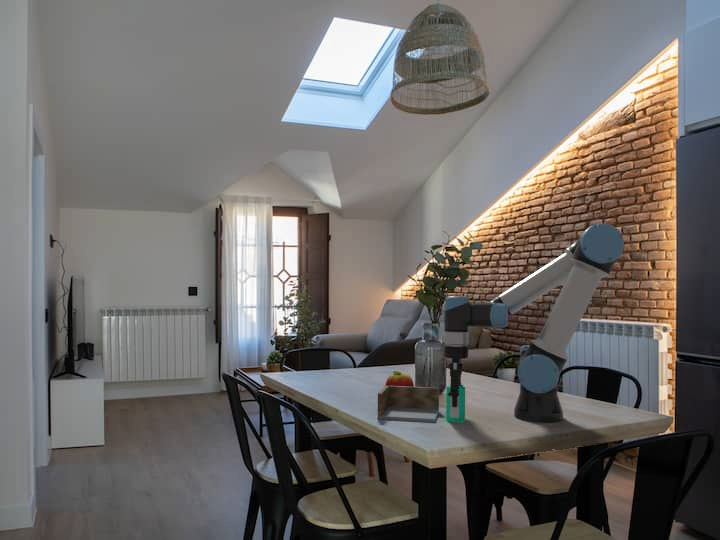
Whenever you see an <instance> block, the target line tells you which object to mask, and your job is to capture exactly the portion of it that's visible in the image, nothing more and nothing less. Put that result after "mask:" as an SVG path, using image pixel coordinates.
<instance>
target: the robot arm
mask: <svg viewBox="0 0 720 540" xmlns="http://www.w3.org/2000/svg"><path fill="white" fill-rule="evenodd" d="M624 249H625V241H624V237H623V235H622V232H621V231H620V230H619V229H618V228H617V227H615V226H614V225H612V224H609V223H603V222H602V223H601V222H599V223H594V224H592V225H590V226H588V227H587V228H586V229H585V230H584V231H583V232H582V235H581V236H580V237H579V238H578V239H577V240H576V241H574V242H573V243H572V244H571V245H569V246H567V247H566V249H565V252H564V253H562V254H561V255H559V256H558V257H557V258H555V259H553V260H552V261H550V262H549V263H547V264H545V265H544V266H542V267H540V268H539V269H538V270H536V271H535V272H533V273H532V274H529V276H527V277H525V278H524V279H522V280H520V281H519V282H518V283H516V284H514V285H513V286H511V287H510V288H508V289H507V290H505V291H504V292H502V293H501V294H499V295H497V296H496V297H494V298H493V299H491V300H489V301H488V302H471V301H470V300H469V297H468V296H463V295H460V296H459V295H455V296H453V295H452V296H451V295H448V296H446V298H445V299H444V300H445V301H444V309H443V311H444V312H443V313H444V314H443V315H444V323H443V324H444V325H443V326H444V329H443V331H444V334H443V333H442V337H443V338H444V340H443V341H444V346H443V347H444V348H443V357H445V358H446V359H451V362H449V364H448V365H449V368H448V369H449V377H450V385H449V386H450V393H448V396H450V417H452V418H459V386H463V387H464V384H462V374H463V373H462V372H463V363H462V359H464V360H465V359H467V358H468V357H469V346H468V345H469V341H470V340H469V338H470V337H469V336H470V335H469V327H472V328H473V327H475V328H476V327H478V328H479V327H480V328H494V329H499V328H501V329H502V328H506V327H508V321H509V317H510V316H512V315H514V314H515V313H516V312H518V311H519V310H521V309H524V308H525V307H526V306H528V305H529V304H530V303H533V302H535V301H536V300H537V299H539V298H541V297H542V296H543V295H545V294H547V293H548V292H551V290H553V289H555V288H557V287H558V286H560V285H561V284H563V283H564V284H563V286H562V289H561V290H560V293H559V295H558V297H557V299H556V301H555V303H554V305H553V307H552V308H551V311H550V313H549V315H548V316H547V319H546V321H545V324H544V326H543V327H542V329H541V331H540V334H539V335H538V337H537V338H536V339H531V340H530V343H529V344H528V345H522V346H521V347H520V349H519V356H520V359H519V364H518V366H517V371H516V374H517V377H518V380H519V394H518V397H517V400H516V404H515V406H514V411H513V412H514V414H513V416H514V417H515V418H517V419H520V420H524V421H528V422H529V421H530V422H537V423H541V422H542V423H553V422H560V421H562V420H564V412H563V407H562V405H561V402H560V399H559V395H558V383H559V381H560V375H561V373H562V371H563V369H564V366H565V365H566V362H567V361H568V356H567V353H566V351H567V348H568V347H569V344H570V343H571V340H572V338H573V336H574V334H575V333H576V330H577V328H578V327H579V324H580V322H581V320H582V318H583V316H584V314H585V311H586V310H587V308H588V306H589V304H590V302H591V300H592V297H593V295H594V294H595V292H596V291H597V288H598V286H599V284H600V282H601V279H603V278H605V277H608V276H610V273H611V272H612V269H613V268H614V266H615V264H616V262H617V259H618V258H619V257H620V256H621V255H622V253H623V252H624Z"/></svg>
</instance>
